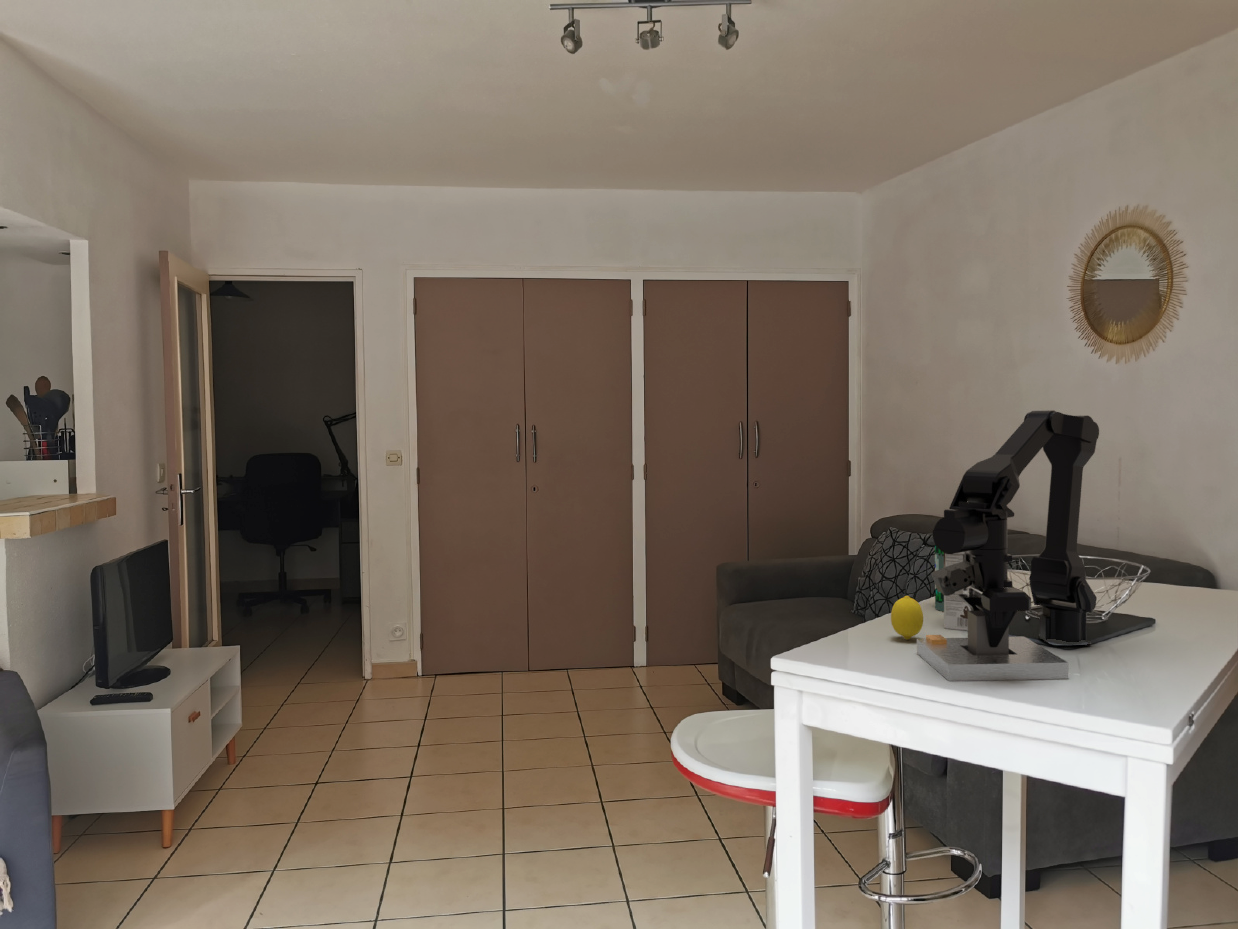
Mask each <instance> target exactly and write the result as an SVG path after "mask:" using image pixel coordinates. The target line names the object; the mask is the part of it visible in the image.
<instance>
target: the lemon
mask: <svg viewBox="0 0 1238 929" xmlns="http://www.w3.org/2000/svg"><path fill="white" fill-rule="evenodd" d="M890 621H891V626H892V628H893V629H894V631H895V633H897V634H898V635H899V636H902V637H903V639H904V640H907V641H908V640H911V638H912V637H914V636H915V637H916V635H918V634H919V633H920V632H921V630H922V628H923V626H924V613H923V610H922V607H921V604H920V603H919V602H918V601H917V600H915V599H914V598H912V597H910V596H909V595H905V596H903V597H902V598H899V599H898V600H896V601H895V602H894V604H893V606H892V608H891V614H890Z"/></svg>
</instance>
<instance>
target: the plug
mask: <svg viewBox="0 0 1238 929" xmlns="http://www.w3.org/2000/svg"><path fill="white" fill-rule="evenodd" d="M1009 627H1010V625H1009V626H1008V628H1007V630H1006V631H1005V633H1004V635H1003V637H1002V639H1001V641H1000V643H999V645H998V647H990V645H989V640H988V634H987V627H986V620H985V615H984V614H983V613H982V612H981V611H968V631H967V638H968V652H969V653H971V654H972V655H1009V637H1010V636H1009V631H1010V629H1009Z"/></svg>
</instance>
